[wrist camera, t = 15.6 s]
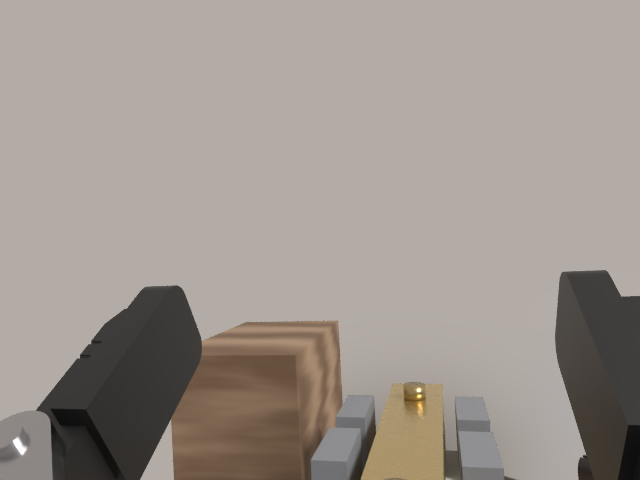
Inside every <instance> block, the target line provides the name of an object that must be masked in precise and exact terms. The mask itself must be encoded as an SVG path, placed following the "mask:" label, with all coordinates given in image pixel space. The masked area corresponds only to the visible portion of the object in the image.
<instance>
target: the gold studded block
mask: <svg viewBox="0 0 640 480" xmlns="http://www.w3.org/2000/svg"><path fill="white" fill-rule="evenodd" d="M445 449H446V448H445V421H444V403H443V386H442V384H424V383H420V382H409V383H405V384H392V387H391V390H390V394H389V396H388V399H387V402H386V405H385V408H384V411H383V414H382V417H381V420H380V423H379V426H378V429H377V432H376V435H375V438H374V441H373V444H372V447H371V450H370V453H369V456H368V459H367V462H366V465H365V468H364V471H363V474H362V477H361V480H446V450H445Z"/></svg>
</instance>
